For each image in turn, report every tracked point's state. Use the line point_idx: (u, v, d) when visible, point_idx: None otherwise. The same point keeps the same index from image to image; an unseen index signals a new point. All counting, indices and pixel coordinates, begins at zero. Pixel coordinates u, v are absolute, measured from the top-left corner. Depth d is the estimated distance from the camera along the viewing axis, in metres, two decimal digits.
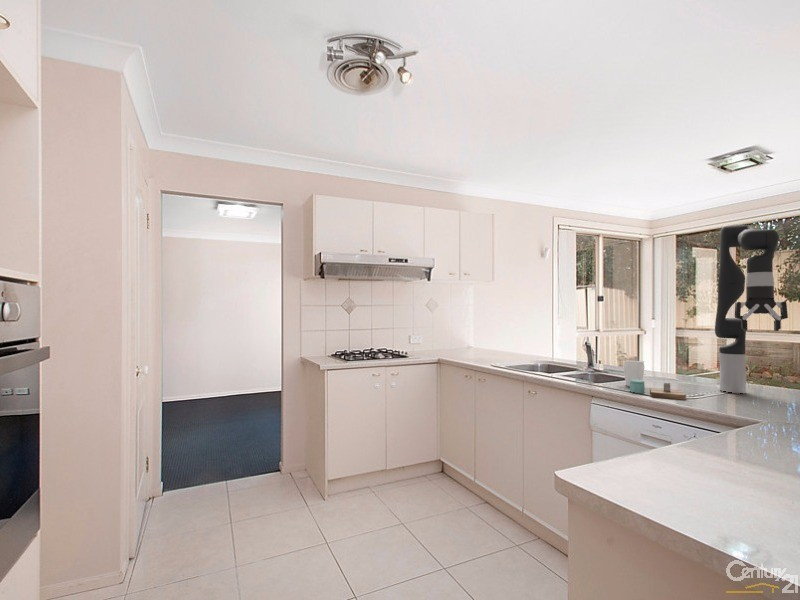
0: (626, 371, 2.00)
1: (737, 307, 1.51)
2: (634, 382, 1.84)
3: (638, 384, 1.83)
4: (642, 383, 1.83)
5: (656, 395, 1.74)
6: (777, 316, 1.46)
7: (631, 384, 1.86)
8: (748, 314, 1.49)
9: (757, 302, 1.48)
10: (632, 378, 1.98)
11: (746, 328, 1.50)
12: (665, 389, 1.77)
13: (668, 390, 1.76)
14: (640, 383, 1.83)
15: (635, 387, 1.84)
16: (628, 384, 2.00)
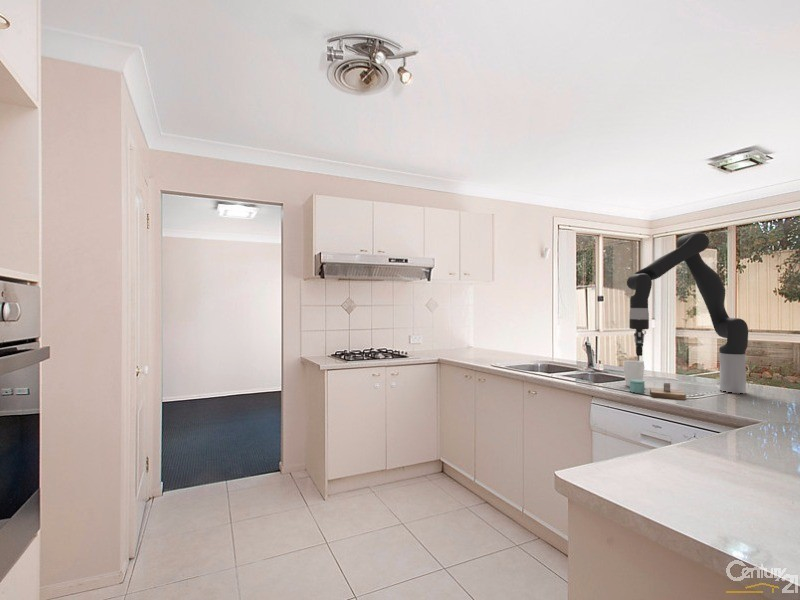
0: (626, 371, 2.00)
1: (642, 336, 1.79)
2: (634, 382, 1.84)
3: (638, 384, 1.83)
4: (642, 383, 1.83)
5: (656, 395, 1.74)
6: None
7: (631, 384, 1.86)
8: (643, 342, 1.81)
9: None
10: (632, 378, 1.98)
11: None
12: (665, 389, 1.77)
13: (668, 390, 1.76)
14: (640, 383, 1.83)
15: (635, 387, 1.84)
16: (628, 384, 2.00)
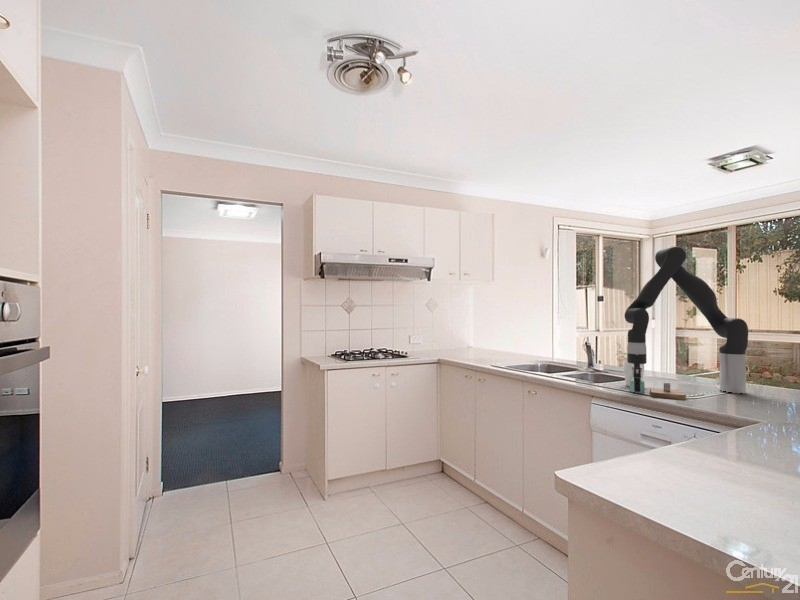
0: (626, 371, 2.00)
1: (640, 374, 1.80)
2: None
3: None
4: (642, 383, 1.83)
5: (656, 395, 1.74)
6: None
7: (631, 384, 1.86)
8: (640, 378, 1.83)
9: None
10: (632, 378, 1.98)
11: None
12: (665, 389, 1.77)
13: (668, 390, 1.76)
14: (640, 383, 1.83)
15: None
16: (628, 384, 2.00)
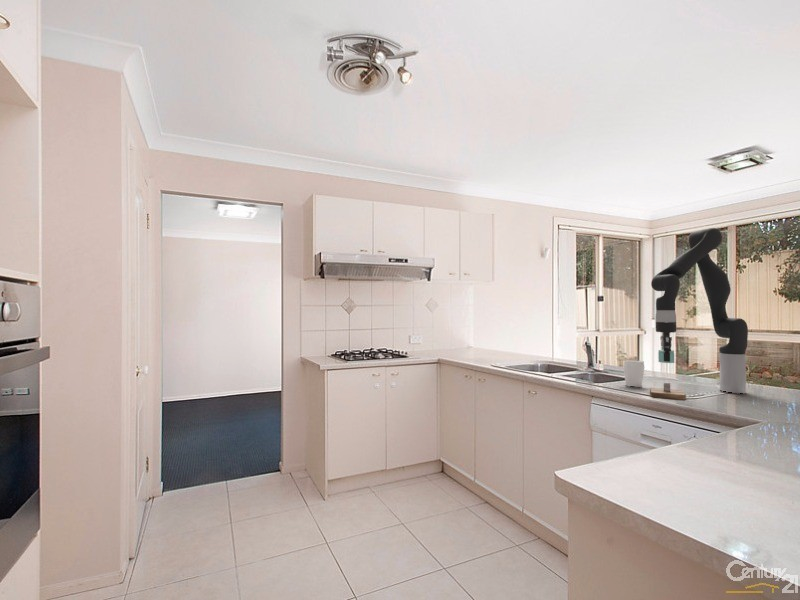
0: (626, 371, 2.00)
1: (670, 342, 1.72)
2: (663, 352, 1.76)
3: None
4: (672, 352, 1.75)
5: (656, 395, 1.74)
6: (668, 347, 1.80)
7: (660, 354, 1.77)
8: None
9: None
10: (632, 378, 1.98)
11: (669, 359, 1.75)
12: (665, 389, 1.77)
13: (668, 390, 1.76)
14: (670, 352, 1.75)
15: None
16: (628, 384, 2.00)
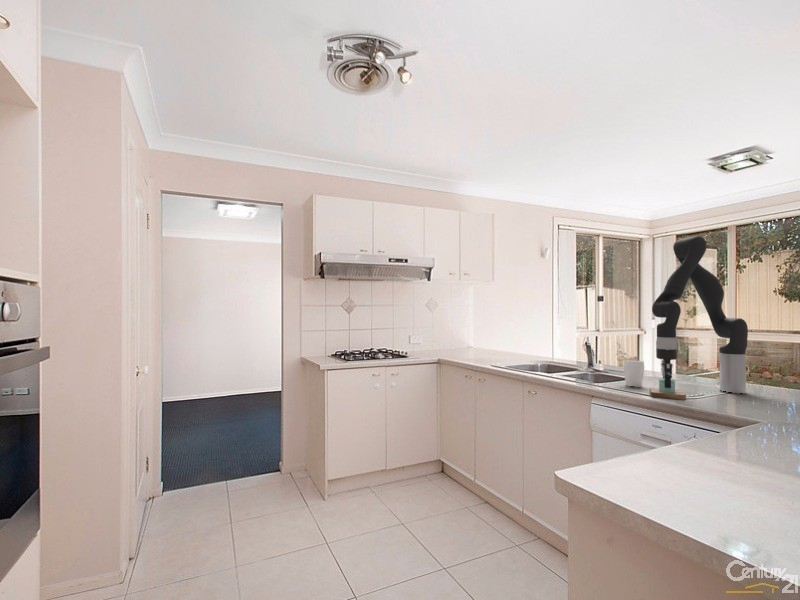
0: (626, 371, 2.00)
1: None
2: (664, 381, 1.76)
3: None
4: (673, 382, 1.75)
5: (656, 395, 1.74)
6: None
7: (661, 383, 1.77)
8: None
9: None
10: (632, 378, 1.98)
11: (670, 386, 1.73)
12: None
13: None
14: None
15: None
16: (628, 384, 2.00)
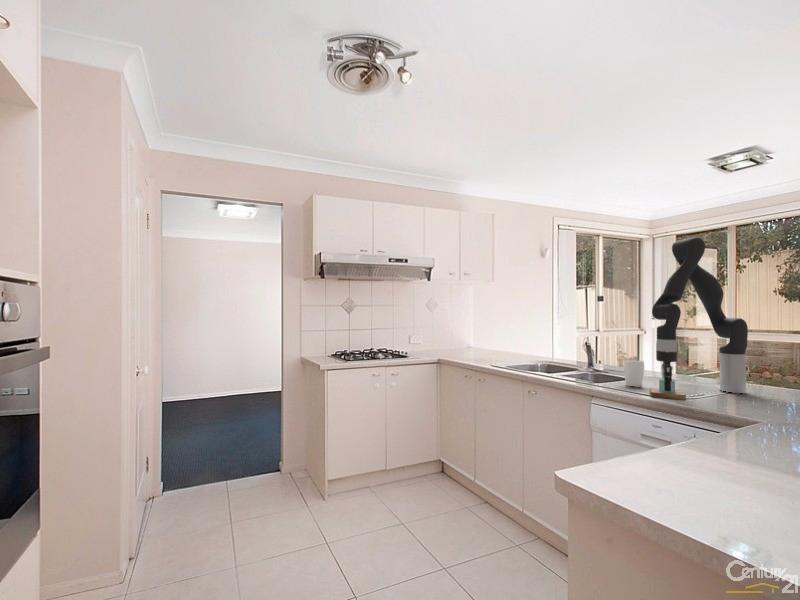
0: (626, 371, 2.01)
1: (671, 372, 1.72)
2: None
3: None
4: (673, 382, 1.75)
5: (656, 395, 1.74)
6: (669, 376, 1.80)
7: (661, 383, 1.77)
8: None
9: None
10: (632, 378, 1.98)
11: (670, 389, 1.74)
12: None
13: None
14: None
15: None
16: (628, 384, 2.00)
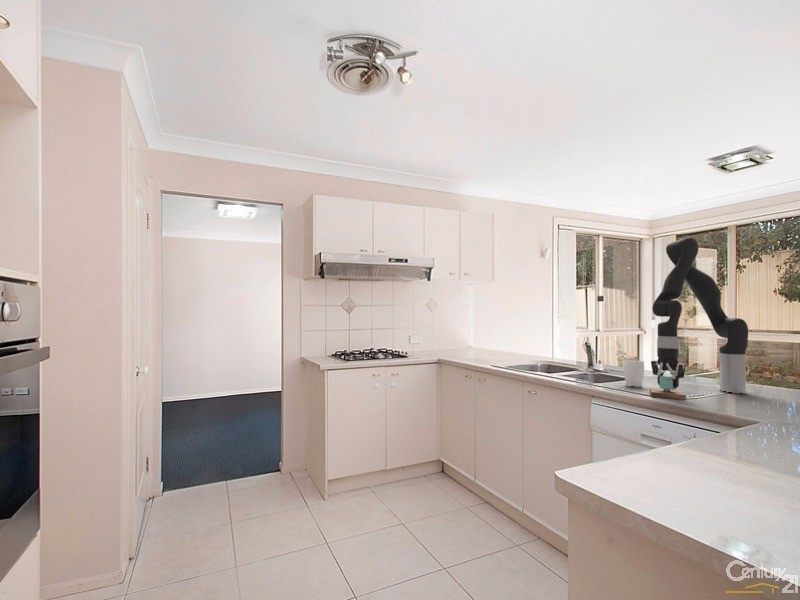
0: (626, 371, 2.00)
1: None
2: None
3: None
4: None
5: (656, 395, 1.74)
6: None
7: None
8: None
9: None
10: (632, 378, 1.98)
11: None
12: (665, 389, 1.77)
13: (668, 390, 1.76)
14: None
15: None
16: (628, 384, 2.00)
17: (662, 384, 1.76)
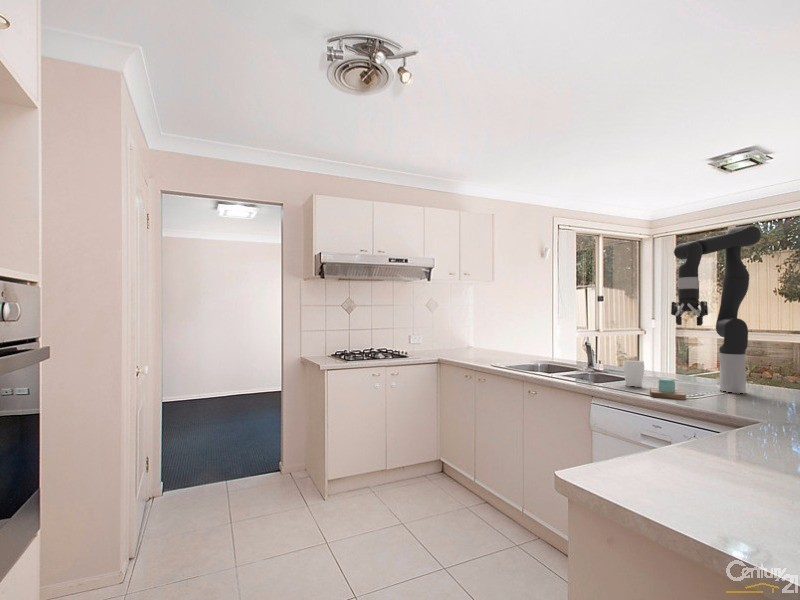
0: (626, 371, 2.00)
1: None
2: None
3: None
4: None
5: (656, 395, 1.74)
6: None
7: (672, 384, 1.75)
8: None
9: None
10: (632, 378, 1.98)
11: None
12: None
13: None
14: None
15: (674, 386, 1.76)
16: (628, 384, 2.00)
17: (661, 387, 1.77)
